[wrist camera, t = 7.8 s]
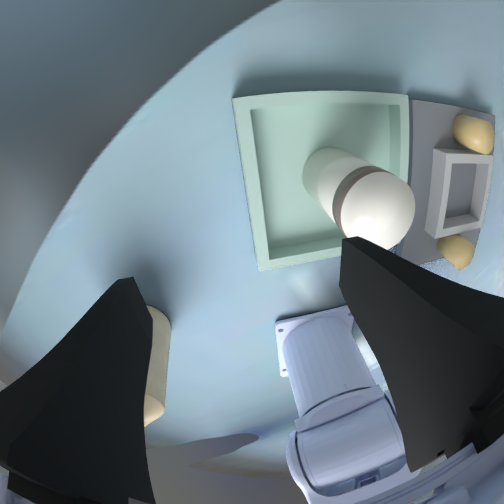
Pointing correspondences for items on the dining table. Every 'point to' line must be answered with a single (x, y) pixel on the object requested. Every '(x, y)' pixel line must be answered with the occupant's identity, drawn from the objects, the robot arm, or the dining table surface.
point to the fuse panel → (447, 181)
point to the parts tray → (296, 154)
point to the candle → (157, 367)
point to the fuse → (359, 196)
